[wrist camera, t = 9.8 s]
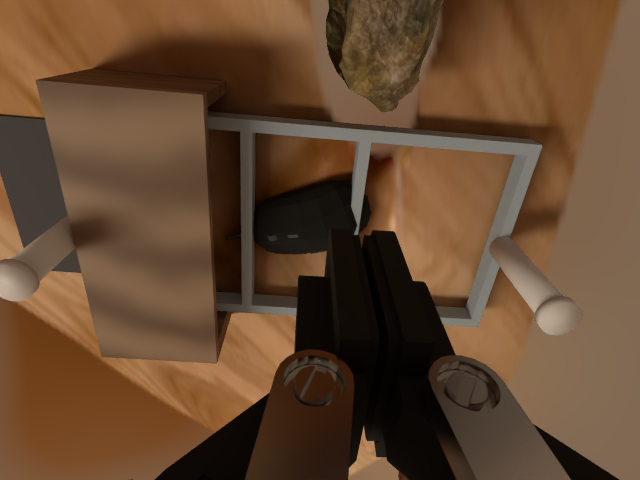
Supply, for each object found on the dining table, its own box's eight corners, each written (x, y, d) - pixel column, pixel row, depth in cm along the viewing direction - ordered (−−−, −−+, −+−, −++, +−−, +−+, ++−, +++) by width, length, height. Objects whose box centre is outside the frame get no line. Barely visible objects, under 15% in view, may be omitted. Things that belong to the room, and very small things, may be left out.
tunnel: (91, 68, 33) (35, 80, 26) (225, 80, 34) (202, 94, 27) (133, 307, 45) (101, 356, 38) (231, 314, 45) (216, 363, 39)
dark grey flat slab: (-16, 113, 35) (-18, 114, 35) (66, 120, 35) (65, 121, 35) (31, 268, 42) (30, 269, 42) (98, 272, 43) (98, 273, 42)
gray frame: (59, 98, 34) (-70, 135, 22) (542, 140, 36) (645, 193, 24) (101, 291, 43) (25, 385, 32) (480, 315, 45) (534, 412, 34)
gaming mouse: (214, 209, 39) (202, 226, 36) (360, 170, 37) (364, 184, 34) (237, 263, 42) (228, 284, 38) (375, 229, 40) (379, 247, 36)
